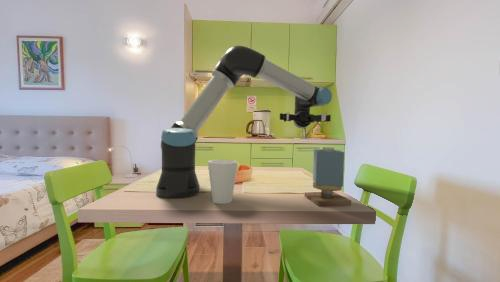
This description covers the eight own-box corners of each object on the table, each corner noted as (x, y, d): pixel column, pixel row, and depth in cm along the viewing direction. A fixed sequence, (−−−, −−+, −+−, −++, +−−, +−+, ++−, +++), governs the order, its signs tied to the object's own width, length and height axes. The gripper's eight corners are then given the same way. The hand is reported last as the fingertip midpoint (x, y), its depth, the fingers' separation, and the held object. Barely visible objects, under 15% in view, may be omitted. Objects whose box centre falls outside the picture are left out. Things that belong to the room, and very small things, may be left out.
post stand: (304, 196, 85) (306, 146, 84) (332, 195, 87) (334, 146, 86) (319, 206, 74) (321, 148, 73) (351, 205, 76) (353, 149, 76)
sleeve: (313, 179, 85) (314, 149, 85) (337, 181, 84) (338, 150, 84) (315, 185, 77) (316, 151, 77) (342, 186, 76) (344, 152, 75)
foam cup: (231, 206, 72) (232, 164, 72) (203, 203, 74) (203, 162, 74) (239, 198, 82) (240, 160, 81) (213, 195, 83) (214, 159, 83)
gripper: (330, 128, 108) (340, 127, 87) (275, 126, 112) (272, 124, 91) (331, 112, 108) (341, 106, 87) (276, 110, 112) (273, 105, 91)
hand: (306, 115), depth 89 cm, fingers open, 13 cm apart
